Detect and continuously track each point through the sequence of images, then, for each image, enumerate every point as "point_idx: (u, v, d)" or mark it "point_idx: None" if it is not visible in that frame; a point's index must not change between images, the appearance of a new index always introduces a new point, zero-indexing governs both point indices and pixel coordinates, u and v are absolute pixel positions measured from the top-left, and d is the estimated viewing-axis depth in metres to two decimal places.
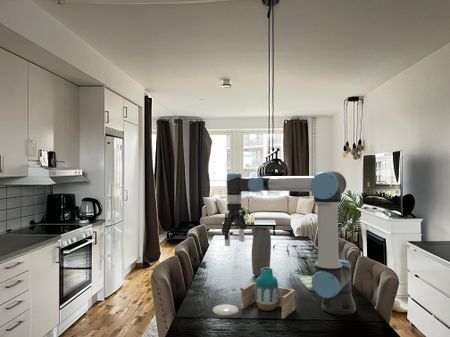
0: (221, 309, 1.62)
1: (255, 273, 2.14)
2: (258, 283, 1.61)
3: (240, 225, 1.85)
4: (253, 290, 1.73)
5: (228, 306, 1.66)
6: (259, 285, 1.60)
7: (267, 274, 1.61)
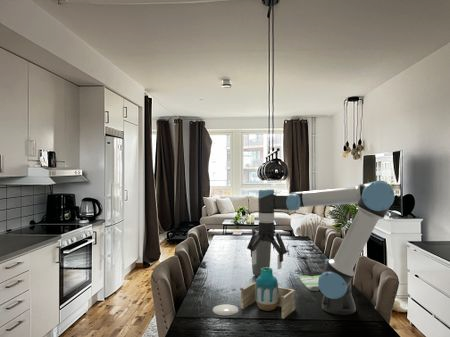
0: (221, 309, 1.62)
1: (255, 273, 2.14)
2: (258, 283, 1.61)
3: None
4: (253, 290, 1.73)
5: (228, 306, 1.66)
6: (259, 285, 1.60)
7: (267, 274, 1.61)
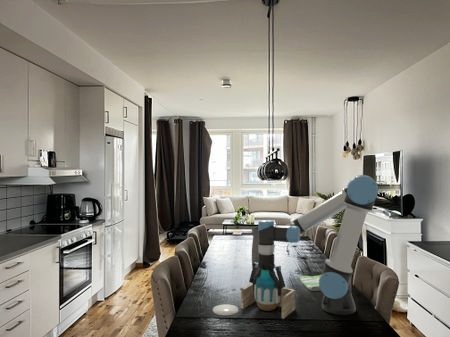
0: (221, 309, 1.62)
1: None
2: (258, 283, 1.61)
3: None
4: None
5: (228, 306, 1.66)
6: (259, 285, 1.60)
7: (267, 274, 1.61)
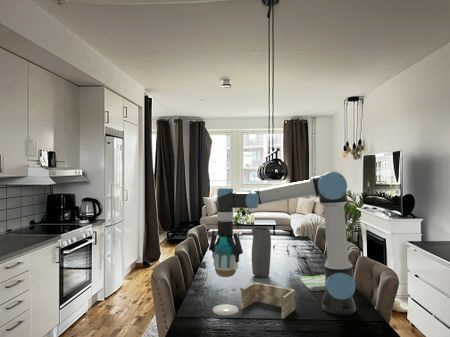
0: (221, 309, 1.62)
1: (255, 273, 2.14)
2: (216, 250, 1.61)
3: None
4: (253, 290, 1.73)
5: (228, 306, 1.66)
6: (217, 252, 1.60)
7: (225, 241, 1.61)
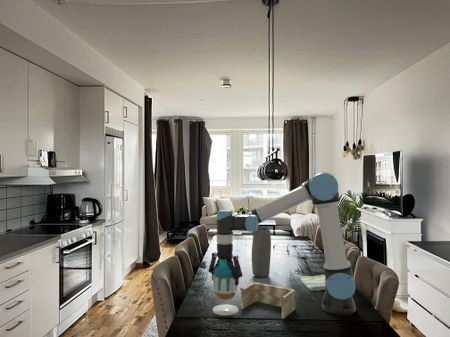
0: (221, 309, 1.62)
1: (255, 273, 2.14)
2: (215, 272, 1.61)
3: None
4: (253, 290, 1.73)
5: (228, 306, 1.66)
6: (217, 275, 1.60)
7: (225, 264, 1.61)
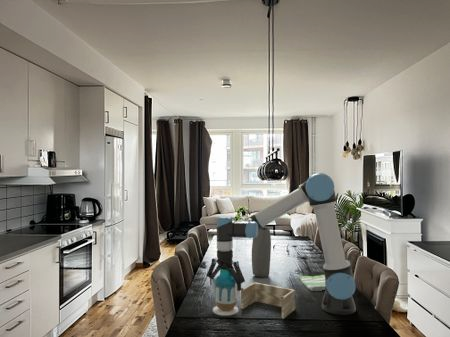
0: None
1: (255, 273, 2.14)
2: (216, 282, 1.61)
3: None
4: (253, 290, 1.73)
5: None
6: (218, 285, 1.60)
7: (226, 274, 1.61)
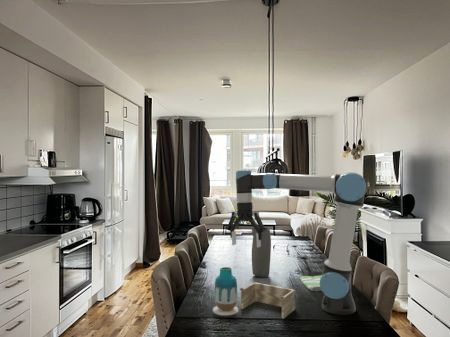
0: None
1: (255, 273, 2.14)
2: (216, 283, 1.60)
3: None
4: (253, 290, 1.73)
5: None
6: (218, 285, 1.60)
7: (226, 274, 1.60)
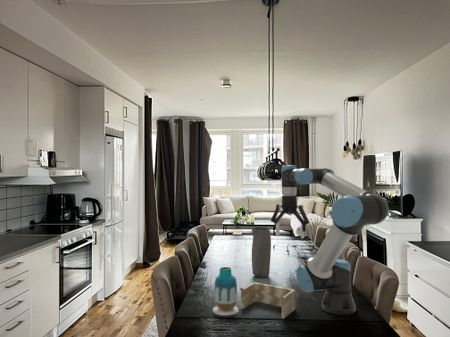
0: None
1: (255, 273, 2.14)
2: (216, 282, 1.61)
3: None
4: (253, 290, 1.73)
5: None
6: (217, 285, 1.60)
7: (225, 274, 1.61)
